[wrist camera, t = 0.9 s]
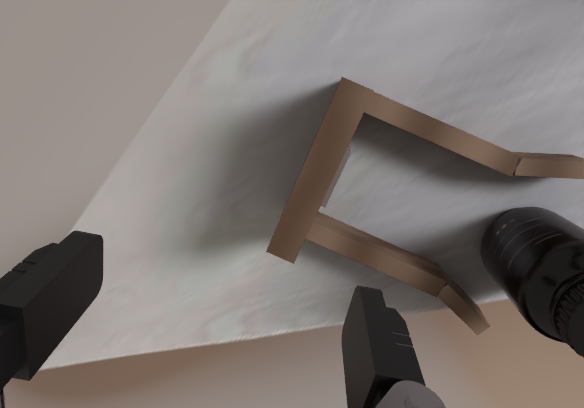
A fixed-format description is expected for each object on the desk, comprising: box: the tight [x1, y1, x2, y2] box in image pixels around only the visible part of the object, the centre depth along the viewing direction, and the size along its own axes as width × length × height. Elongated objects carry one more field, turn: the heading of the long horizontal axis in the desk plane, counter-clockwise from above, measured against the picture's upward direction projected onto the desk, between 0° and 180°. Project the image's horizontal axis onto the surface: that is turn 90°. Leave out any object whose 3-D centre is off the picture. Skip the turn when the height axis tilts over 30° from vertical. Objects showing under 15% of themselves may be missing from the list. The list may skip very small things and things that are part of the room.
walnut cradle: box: [266, 77, 584, 335], centre depth 29 cm, size 18×15×8 cm
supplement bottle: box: [481, 207, 584, 357], centre depth 27 cm, size 7×7×12 cm
